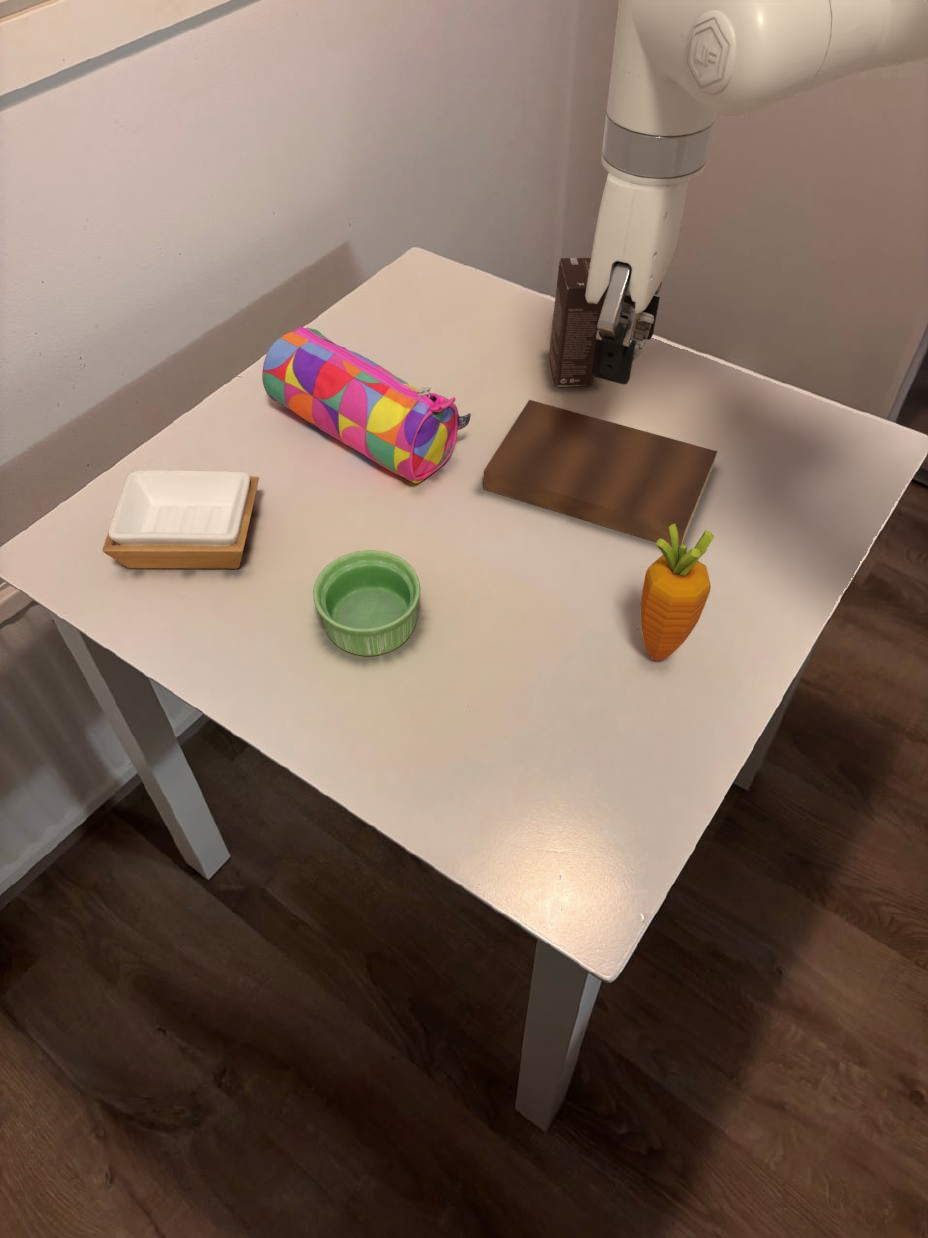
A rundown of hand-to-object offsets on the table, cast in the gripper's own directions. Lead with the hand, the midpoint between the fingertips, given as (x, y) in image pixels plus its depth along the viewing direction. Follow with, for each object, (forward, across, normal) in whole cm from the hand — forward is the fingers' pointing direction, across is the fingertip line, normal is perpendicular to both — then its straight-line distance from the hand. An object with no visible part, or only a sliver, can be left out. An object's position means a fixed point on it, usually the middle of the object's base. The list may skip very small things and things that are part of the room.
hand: (622, 354), depth 78 cm
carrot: (+15, +19, +11) cm, 27 cm away
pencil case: (+15, +3, -25) cm, 29 cm away
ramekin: (+15, +25, -13) cm, 32 cm away
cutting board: (+15, 0, 0) cm, 15 cm away
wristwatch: (+1, 0, 0) cm, 1 cm away
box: (+15, -16, -9) cm, 24 cm away
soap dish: (+15, +23, -33) cm, 43 cm away
